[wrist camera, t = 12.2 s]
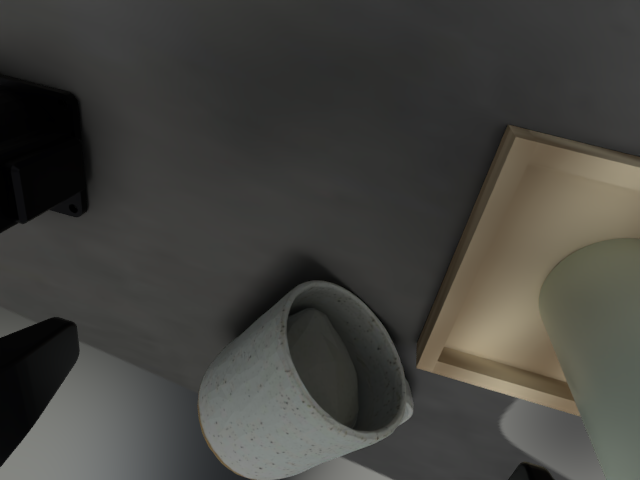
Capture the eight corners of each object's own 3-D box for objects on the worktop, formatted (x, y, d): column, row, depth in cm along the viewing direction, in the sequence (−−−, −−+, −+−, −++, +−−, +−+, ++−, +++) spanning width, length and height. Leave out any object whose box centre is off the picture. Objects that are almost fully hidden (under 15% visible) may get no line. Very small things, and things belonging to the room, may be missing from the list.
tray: (416, 343, 24) (416, 367, 22) (507, 124, 18) (515, 136, 16) (687, 422, 23) (706, 453, 21) (883, 217, 17) (930, 240, 15)
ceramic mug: (220, 332, 26) (154, 446, 20) (308, 251, 22) (261, 360, 16) (351, 431, 28) (330, 564, 22) (452, 374, 25) (463, 515, 18)
